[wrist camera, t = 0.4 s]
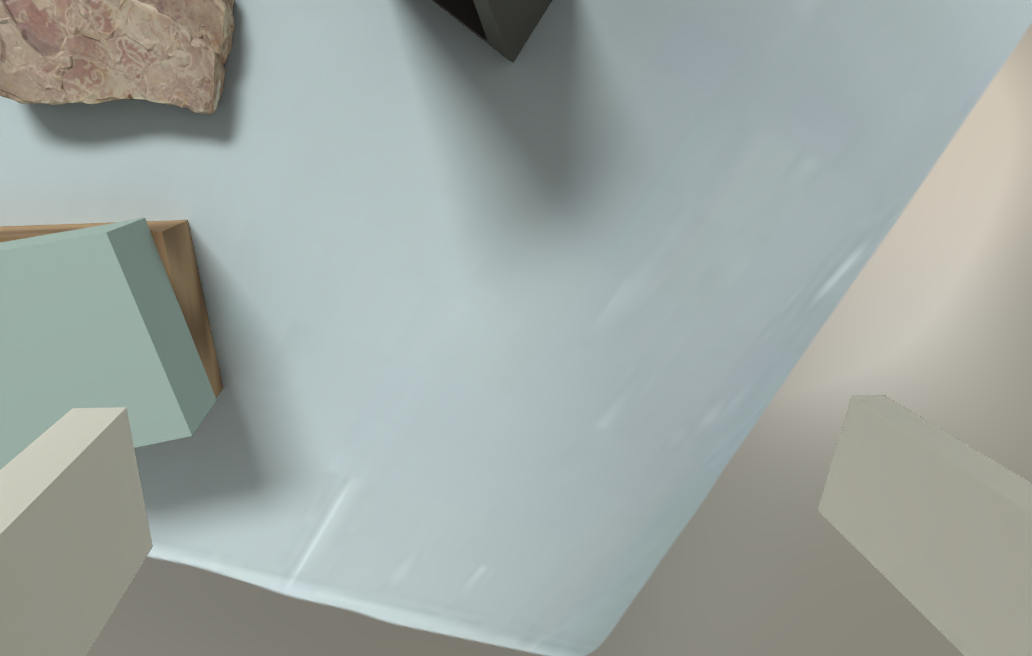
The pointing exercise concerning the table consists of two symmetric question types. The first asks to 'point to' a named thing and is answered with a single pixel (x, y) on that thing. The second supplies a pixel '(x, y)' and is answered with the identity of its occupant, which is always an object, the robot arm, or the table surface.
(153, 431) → the tower top
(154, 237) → the tower base
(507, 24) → the phone stand
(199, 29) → the stone
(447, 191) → the table surface
